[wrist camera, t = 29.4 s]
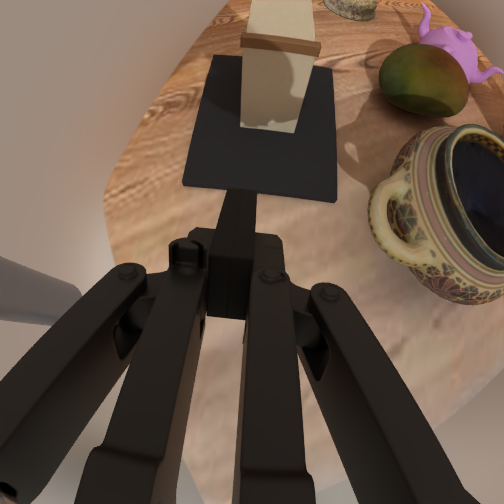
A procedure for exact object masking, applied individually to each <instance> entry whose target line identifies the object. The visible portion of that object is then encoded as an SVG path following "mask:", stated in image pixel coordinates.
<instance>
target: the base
mask: <svg viewBox="0 0 504 504" xmlns="http://www.w3.org/2000/svg"><path fill="white" fill-rule="evenodd" d="M250 12H262V13H272V14H280V15H287V16H294V17H301V18H307V19H313V12H312V0H252V4H251V8H250ZM249 17H250V15H249ZM242 62H243V57H242V56H228V55H214V56H213V59H212V63H211V66H210V70H209V73H208V77H207V80H206V84H205V88H204V91H203V95H202V99H201V103H200V107H199V111H198V114H197V119H196V123H195V127H194V131H193V135H192V139H191V144H190V148H189V152H188V157H187V161H186V166H185V171H184V175H183V180H182V183H183V186H191V187H202V188H213V189H223V190H227V189H228V188H235V189H245V190H254V191H257V193H261V194H269V195H278V196H286V197H294V198H301V199H309V200H316V201H323V202H330V203H335V202H336V200H337V150H336V123H335V104H334V88H333V75H332V69H329V68H324V67H319V66H313V67H312V71H311V74H310V78H309V82H308V85H307V89H306V92H305V96H304V99H303V103H302V107H301V110H300V114H299V117H298V121H297V124H296V128H295V131H294V133H288V132H280V131H272V130H264V129H255V128H246V127H240V118H241V88H242Z"/></svg>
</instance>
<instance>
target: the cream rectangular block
mask: <svg viewBox="0 0 504 504" xmlns="http://www.w3.org/2000/svg"><path fill="white" fill-rule="evenodd" d="M240 47H242V48H243V62H242V88H241V118H240V127H246V128H255V129H264V130H272V131H280V132H288V133H294V131H295V128H296V124H297V121H298V117H299V114H300V110H301V107H302V103H303V99H304V96H305V92H306V89H307V85H308V82H309V78H310V74H311V71H312V67H313V64H314V60H315V57H319V53H320V50H321V43H320V42H315V29H314V20H313V19H307V18H301V17H294V16H287V15H280V14H272V13H262V12H250V17H249V21H248V26H247V30H246V33H245V32H242V34H241V41H240Z"/></svg>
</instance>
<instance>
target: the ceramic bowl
mask: <svg viewBox="0 0 504 504" xmlns="http://www.w3.org/2000/svg"><path fill="white" fill-rule="evenodd" d="M387 203H388V215H389V221H390V225H389V222H388V219H387ZM368 222H369V225H370V229H371V232H372V235H373V237H374V239H375V241H376V242H377V244H378V246H379V247H380V248H381V249H382V250H383V251H384V252H385V253H386V254H387V255H388V256H389V257H390V258H392V259H393V260H394V261H395V262H397V263H399V264H402V265H405V266H408V267H409V269H410V270H411V272H412V273H413V274H414V275H415V276H416V277H417V278H418V280H419V281H420V282H421V283H422V284H423V285H424V286H426V287H427V288H429V289H430V290H431V291H433V292H434V293H436V294H437V295H439V296H440V297H442V298H444V299H447V300H449V301H452V302H455V303H459V304H464V305H479V304H484V303H488V302H491V301H493V300H495V299H497V298H499V297H501V296H502V295H504V140H503V139H502V138H501V137H500V136H498V135H497V134H496V133H494V132H493V131H491V130H488V129H487V128H485V127H483V126H480V125H476V124H466V125H462V126H460V127H451V126H437V127H432V128H428V129H426V130H423V131H421V132H419V133H418V134H416V135H415V136H414V137H412V138H411V139H410V140H409V141H408V142H407V143H406V144H405V145H404V146H403V148H402V149H401V150H400V152H399V154H398V156H397V157H396V159H395V162H394V164H393V167H392V170H391V173H390V177H389V178H387V179H386V180H384V181H382V182H380V183H379V184H378V185H377V186H376V187H375V189H374V190H373V191H372V194H371V196H370V199H369V202H368Z"/></svg>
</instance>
